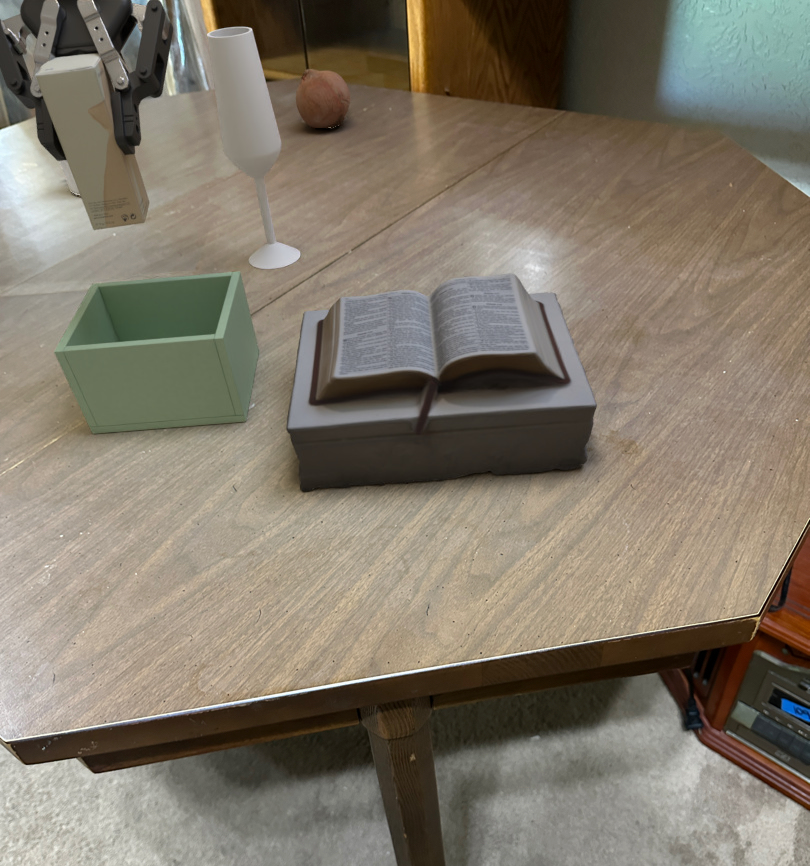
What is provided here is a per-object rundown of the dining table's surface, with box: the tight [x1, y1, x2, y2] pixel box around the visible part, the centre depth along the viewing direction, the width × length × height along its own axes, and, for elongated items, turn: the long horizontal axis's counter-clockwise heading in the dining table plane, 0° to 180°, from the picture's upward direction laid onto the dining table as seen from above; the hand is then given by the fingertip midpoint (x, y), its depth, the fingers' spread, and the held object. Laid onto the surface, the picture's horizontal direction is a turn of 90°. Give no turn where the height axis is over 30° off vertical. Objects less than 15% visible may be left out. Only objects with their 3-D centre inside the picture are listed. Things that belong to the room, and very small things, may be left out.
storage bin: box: [53, 270, 260, 435], centre depth 69 cm, size 15×13×9 cm
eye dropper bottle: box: [58, 160, 80, 194], centre depth 109 cm, size 4×6×12 cm
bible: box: [286, 272, 598, 492], centre depth 63 cm, size 23×27×10 cm
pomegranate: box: [295, 68, 351, 129], centre depth 125 cm, size 10×9×10 cm
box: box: [35, 53, 150, 231], centre depth 56 cm, size 5×4×11 cm
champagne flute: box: [206, 26, 301, 270], centre depth 83 cm, size 7×7×24 cm
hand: (91, 151), depth 55 cm, fingers closed on box, 4 cm apart
